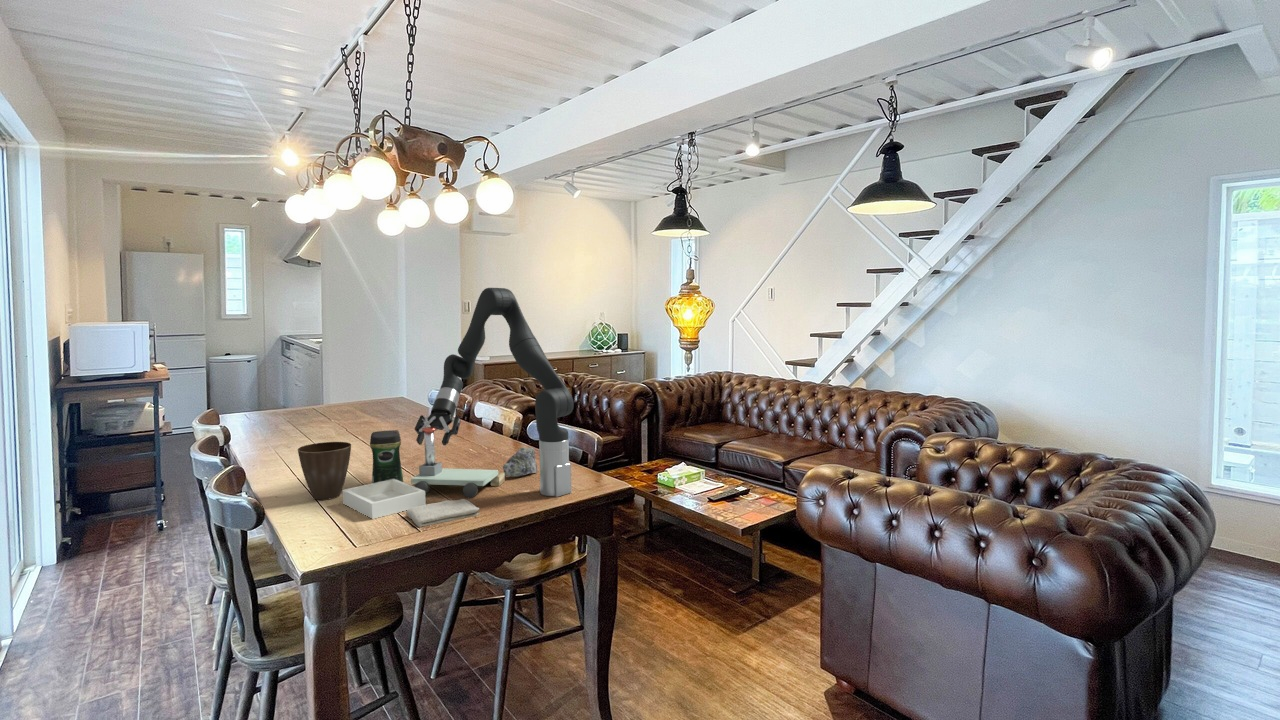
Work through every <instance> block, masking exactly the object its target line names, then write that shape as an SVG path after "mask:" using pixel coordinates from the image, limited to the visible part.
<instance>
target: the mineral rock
mask: <svg viewBox="0 0 1280 720" xmlns="http://www.w3.org/2000/svg"><path fill="white" fill-rule="evenodd" d="M502 469H503V472H502V473H505V477H507V478H509V477H513V478H514V477H517V478H518V477H523V476H526V475H528V474H529V475H530V474H535V473H538V464H537V463H536V450H535V448H533V447H527V448H526V446H521V447H520V448H519V449H518V450H517V451H516V453H514V455H512V456H511V457H509V459H508V460H507V461H506V462H505V463H504V464H503V465H502Z"/></svg>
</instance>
